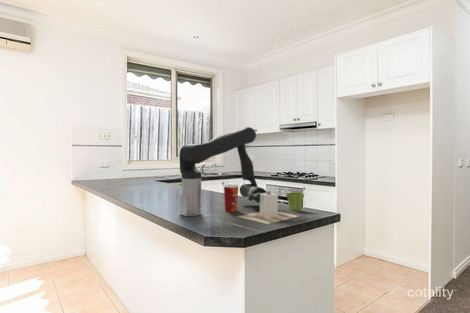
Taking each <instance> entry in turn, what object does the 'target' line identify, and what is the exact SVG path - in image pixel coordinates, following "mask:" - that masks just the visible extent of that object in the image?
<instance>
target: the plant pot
mask: <svg viewBox="0 0 470 313" xmlns="http://www.w3.org/2000/svg"><path fill="white" fill-rule="evenodd" d="M285 195H286V197H287V204H288V211H289V210H291V211H295V212H302V208H303V202H304V201H303V200H304V197H305V193H303V192H286V193H285Z"/></svg>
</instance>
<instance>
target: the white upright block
mask: <svg viewBox="0 0 470 313" xmlns="http://www.w3.org/2000/svg"><path fill="white" fill-rule="evenodd" d="M265 191H266V193H260V203H259V212H260V216H262V217H263V218H276V217H278V212H279V210H278V209H279V200H278V199H279V196H278V195H279V194H278V193H275V192H272V191H270V190H265ZM274 193H275V194H274ZM277 194H278V195H277Z"/></svg>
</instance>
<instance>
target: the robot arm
mask: <svg viewBox="0 0 470 313" xmlns="http://www.w3.org/2000/svg"><path fill="white" fill-rule="evenodd" d="M256 138H257V133H256V131H255V129H254V128H253V127H249V126H247V127H243V128H239V129H237V130H236V131H233V132H229V133H224V134H221V135H216V136H215V137H213V138H212V139H211V140H210V141H208V142H205V143H199V144H197V143H194V144H190V143H189V144H184V145H183V146H182V147H181V148H180V149H179V156H178V157H179V172H180V174H181V194H179V215H181V216H184V217H196V216H197V217H198V216H200V215H202V172H201V171H199V170H198V169H197V167H196V164H197V165H198V164H200V163H203V162H205V161H206V160H208V159H210V158H212V157H215V156H218V155H221V154H224V153H227V152H229V151H232V150H233V149H236V150H237V152H238V153H237V154H238V156H239V162H240V170H241V172H240V173H241V178H242V180H244V181H248V182H249V183H245V184H242V185H241V186H239V194H240V196H241V197H243V198H247V200H248V201H250V202H252V201H253V202H255V203H257V204H260V193H266V191H267V190H266V189H264V187H263V188H262V187H260V186H258V184H257V182H256V178H255V171H254V164H253V161H252V159H251V158H250V156H249V154H248V152H247V151H246V145H247V144H251V143H254V141H255V140H256ZM273 193H274V194H277V195H278V197H279V196H280V195H279V194H278V193H275V192H273ZM278 201H279V198H278Z"/></svg>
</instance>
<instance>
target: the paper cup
mask: <svg viewBox="0 0 470 313" xmlns="http://www.w3.org/2000/svg"><path fill="white" fill-rule="evenodd" d="M239 188H240V186H239V184H238V183H235V182H227V183H223V189H224V190H223V196H224V211H225V212H226V213H227V212H228V213H229V212H233V213H234V212H237V210H238V197H239V196H238V195H239Z"/></svg>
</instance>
